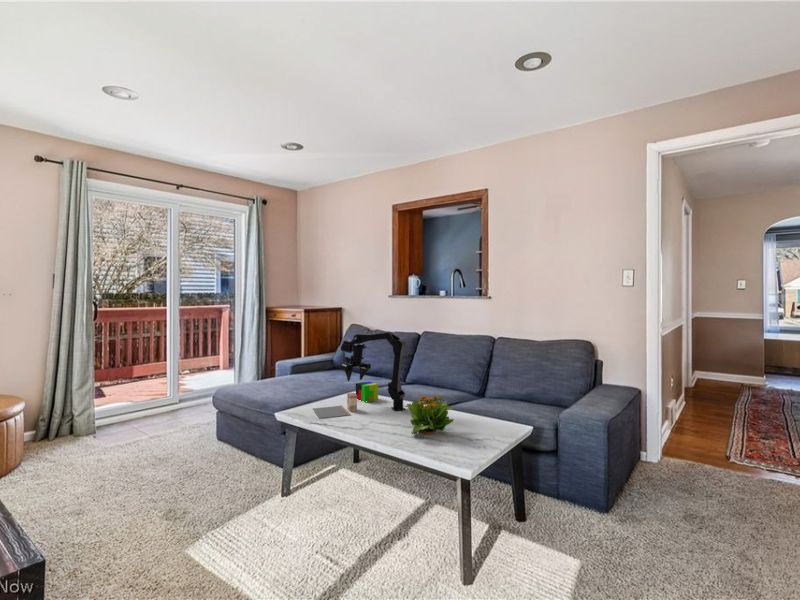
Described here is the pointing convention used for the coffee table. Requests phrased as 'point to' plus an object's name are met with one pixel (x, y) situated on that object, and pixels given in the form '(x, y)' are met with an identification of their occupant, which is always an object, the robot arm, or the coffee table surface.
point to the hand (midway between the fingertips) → (354, 380)
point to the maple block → (351, 401)
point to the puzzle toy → (367, 391)
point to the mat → (331, 412)
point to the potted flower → (429, 415)
